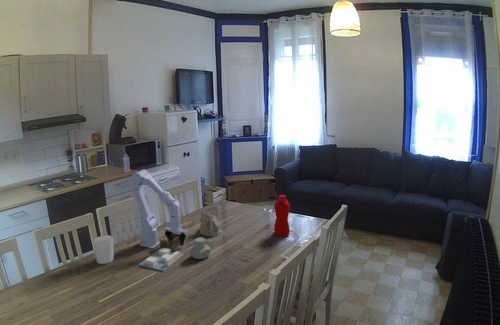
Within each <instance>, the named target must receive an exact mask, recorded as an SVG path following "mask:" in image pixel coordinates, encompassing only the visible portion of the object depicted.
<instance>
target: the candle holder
mask: <svg viewBox="0 0 500 325" xmlns="http://www.w3.org/2000/svg"><path fill="white" fill-rule="evenodd" d="M92 244H93V249H94V254H95V259H96V262H97V264H99V265H106V264H110V263H111V262H113V261H114V258H115V257H114V256H115V252H114V237H113V236H112V235H109V234H107V235H100V236H96V237H95V238H94V239H93V240H92Z"/></svg>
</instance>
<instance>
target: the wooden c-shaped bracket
mask: <svg viewBox="0 0 500 325" xmlns="http://www.w3.org/2000/svg"><path fill="white" fill-rule="evenodd" d="M180 234H181V233H173V236H172V238H173V240H171V241H168V240H164V239H160V240H159V242H160V244H159V249H162V248H167V249H171V251H172V252H174V250H176V249H177V248H178V247H181V245H180V239H179V235H180Z"/></svg>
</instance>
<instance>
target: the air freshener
mask: <svg viewBox="0 0 500 325" xmlns="http://www.w3.org/2000/svg"><path fill="white" fill-rule="evenodd" d="M189 254H190V256H191V257H192V258H193V259H194V260H195V259H196V260H204V259H206V258H207V257H209V256H210V254H211V248H210V247H209V246H208V245H207V244H206V239H205V237H200V236H199V237H197V238H195V239H194V240H193V246H192V247H191V248H190V250H189Z"/></svg>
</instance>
